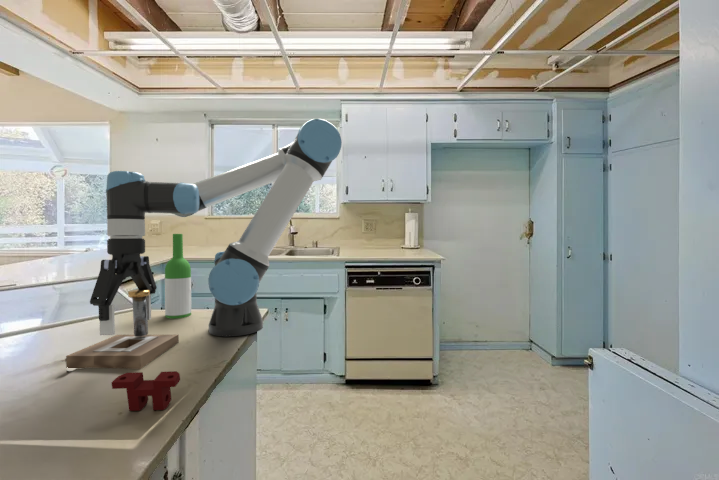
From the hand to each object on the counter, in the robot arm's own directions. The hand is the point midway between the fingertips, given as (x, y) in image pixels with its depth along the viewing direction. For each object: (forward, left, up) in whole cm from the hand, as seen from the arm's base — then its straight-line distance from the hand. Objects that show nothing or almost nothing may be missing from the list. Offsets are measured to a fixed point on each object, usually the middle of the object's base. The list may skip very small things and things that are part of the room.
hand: (127, 326), depth 83 cm
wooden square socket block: (0, 0, -8) cm, 8 cm away
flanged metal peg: (0, -5, -3) cm, 6 cm away
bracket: (-14, +24, -5) cm, 29 cm away
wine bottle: (+5, -33, -8) cm, 34 cm away
